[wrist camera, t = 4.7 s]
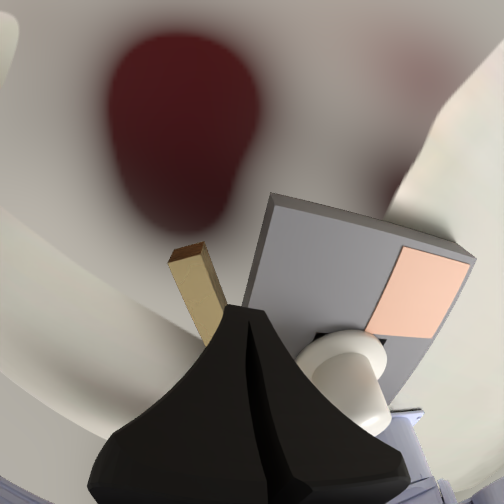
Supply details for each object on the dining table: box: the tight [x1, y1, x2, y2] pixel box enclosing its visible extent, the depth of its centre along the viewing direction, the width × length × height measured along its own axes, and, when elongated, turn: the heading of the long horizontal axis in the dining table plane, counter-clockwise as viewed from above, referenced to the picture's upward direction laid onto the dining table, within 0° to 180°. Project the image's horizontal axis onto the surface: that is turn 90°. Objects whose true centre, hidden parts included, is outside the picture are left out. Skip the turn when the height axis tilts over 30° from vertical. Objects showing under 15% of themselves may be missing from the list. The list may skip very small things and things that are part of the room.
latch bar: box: [168, 241, 228, 346], centre depth 17 cm, size 17×2×1 cm, turn 15°
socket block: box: [241, 192, 477, 406], centre depth 20 cm, size 19×14×3 cm
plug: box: [295, 330, 392, 437], centre depth 17 cm, size 6×6×7 cm
